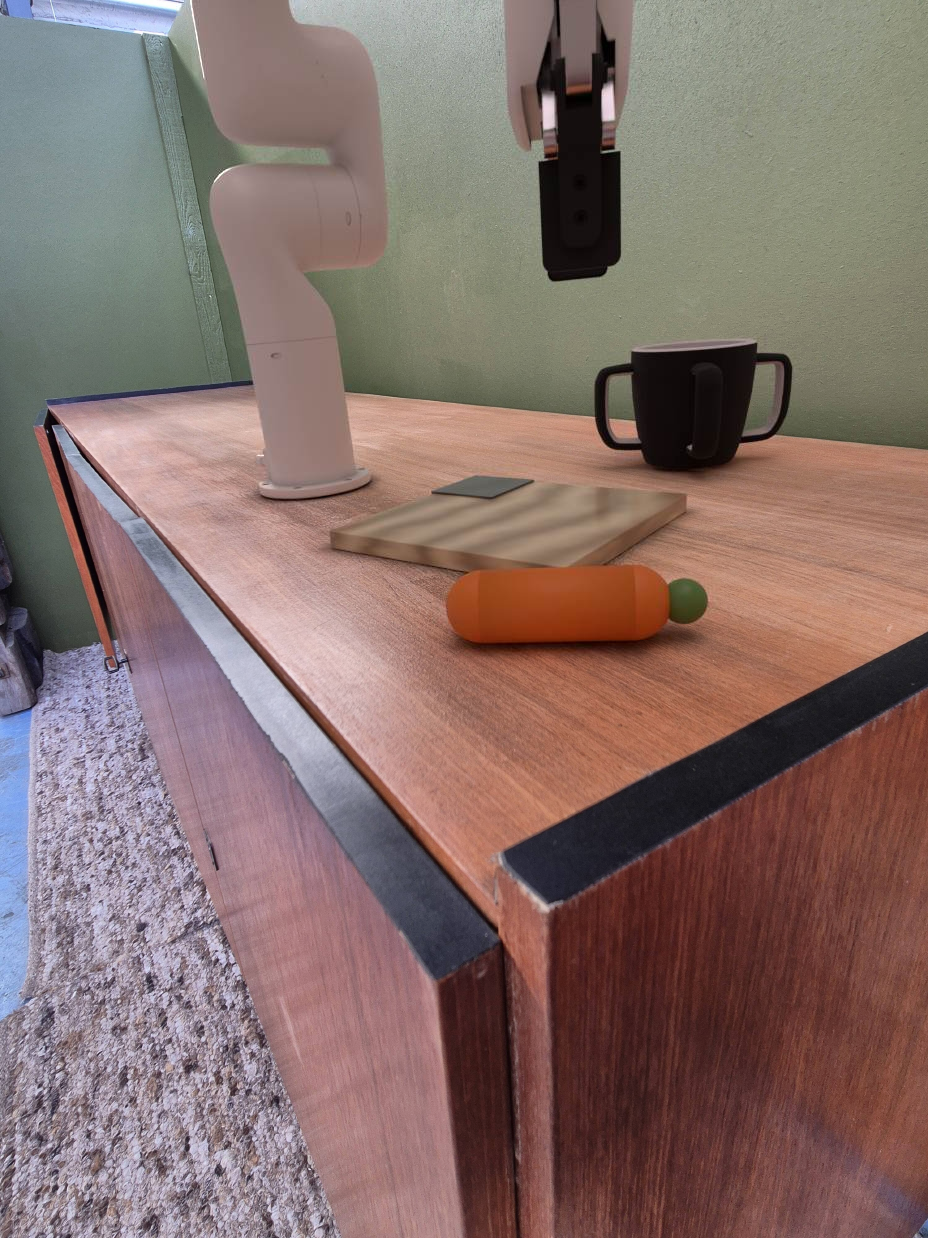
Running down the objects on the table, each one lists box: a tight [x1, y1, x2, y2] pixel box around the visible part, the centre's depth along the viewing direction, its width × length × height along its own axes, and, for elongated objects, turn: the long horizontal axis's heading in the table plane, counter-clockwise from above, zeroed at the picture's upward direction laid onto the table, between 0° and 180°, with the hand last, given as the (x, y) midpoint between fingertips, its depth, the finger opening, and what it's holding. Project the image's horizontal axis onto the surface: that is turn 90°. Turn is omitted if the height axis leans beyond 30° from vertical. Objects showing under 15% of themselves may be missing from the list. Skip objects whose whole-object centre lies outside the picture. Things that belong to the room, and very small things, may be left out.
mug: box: [593, 338, 793, 471], centre depth 74 cm, size 16×16×12 cm
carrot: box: [445, 564, 709, 644], centre depth 38 cm, size 14×4×4 cm, turn 82°
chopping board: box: [328, 474, 688, 573], centre depth 59 cm, size 22×20×2 cm
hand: (579, 274), depth 34 cm, fingers open, 9 cm apart
